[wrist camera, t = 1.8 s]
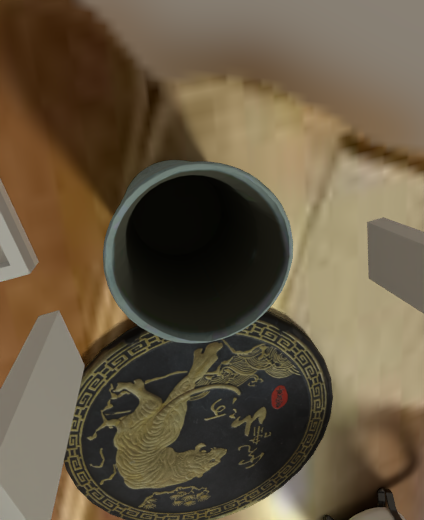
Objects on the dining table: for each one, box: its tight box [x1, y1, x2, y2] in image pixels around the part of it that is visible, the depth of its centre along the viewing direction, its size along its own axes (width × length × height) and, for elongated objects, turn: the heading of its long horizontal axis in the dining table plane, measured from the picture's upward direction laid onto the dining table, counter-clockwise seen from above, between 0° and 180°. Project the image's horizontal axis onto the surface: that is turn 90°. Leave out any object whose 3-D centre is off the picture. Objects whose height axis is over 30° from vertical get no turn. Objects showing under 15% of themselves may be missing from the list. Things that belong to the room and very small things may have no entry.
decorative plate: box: [64, 311, 333, 520], centre depth 37 cm, size 30×2×30 cm
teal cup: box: [103, 160, 293, 343], centre depth 23 cm, size 10×10×12 cm
